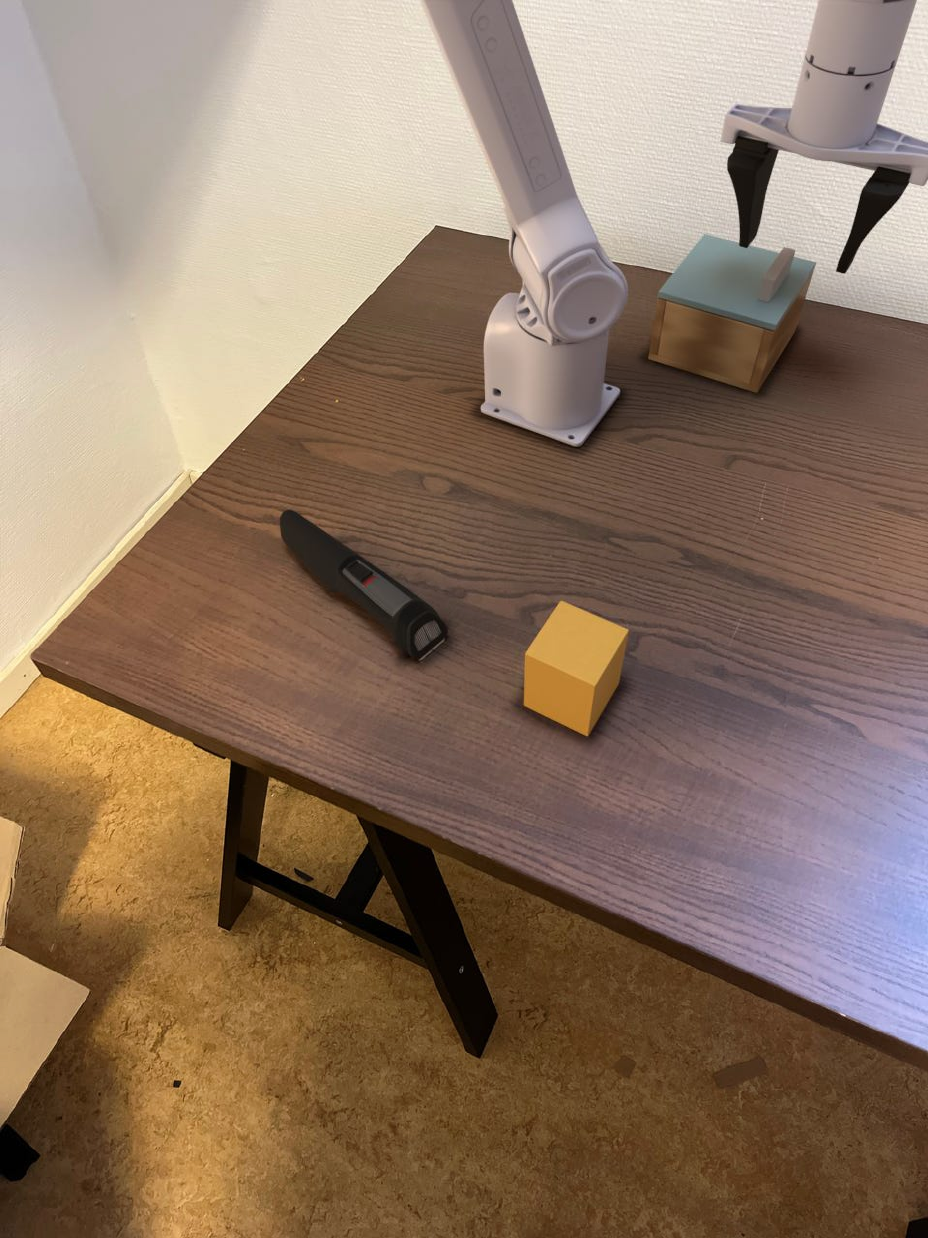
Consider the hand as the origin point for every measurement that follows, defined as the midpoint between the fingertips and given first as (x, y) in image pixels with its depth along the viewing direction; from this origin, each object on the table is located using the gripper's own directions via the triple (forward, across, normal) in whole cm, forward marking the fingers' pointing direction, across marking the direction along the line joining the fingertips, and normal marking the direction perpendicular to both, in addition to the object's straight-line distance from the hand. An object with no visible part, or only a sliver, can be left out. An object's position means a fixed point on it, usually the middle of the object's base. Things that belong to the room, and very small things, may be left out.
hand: (794, 253), depth 67 cm
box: (+10, +4, -1) cm, 11 cm away
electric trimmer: (+11, +16, +39) cm, 43 cm away
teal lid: (+4, +4, -1) cm, 6 cm away
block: (+10, -1, +38) cm, 40 cm away
